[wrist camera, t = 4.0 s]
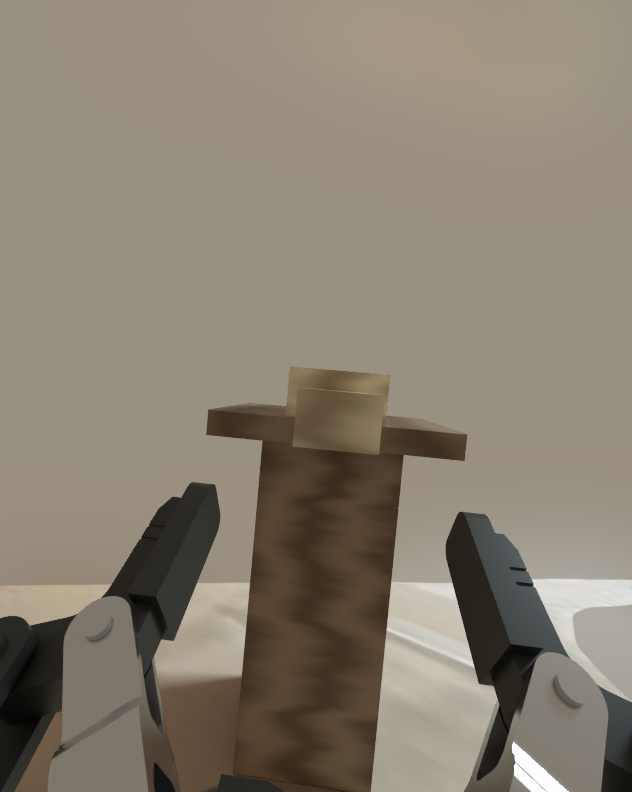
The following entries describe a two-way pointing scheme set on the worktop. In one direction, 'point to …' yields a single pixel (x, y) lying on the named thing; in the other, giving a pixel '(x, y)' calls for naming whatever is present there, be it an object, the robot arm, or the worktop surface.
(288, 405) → the beige stepped hammer block
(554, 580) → the worktop surface
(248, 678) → the wooden t-shaped post
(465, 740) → the worktop surface
